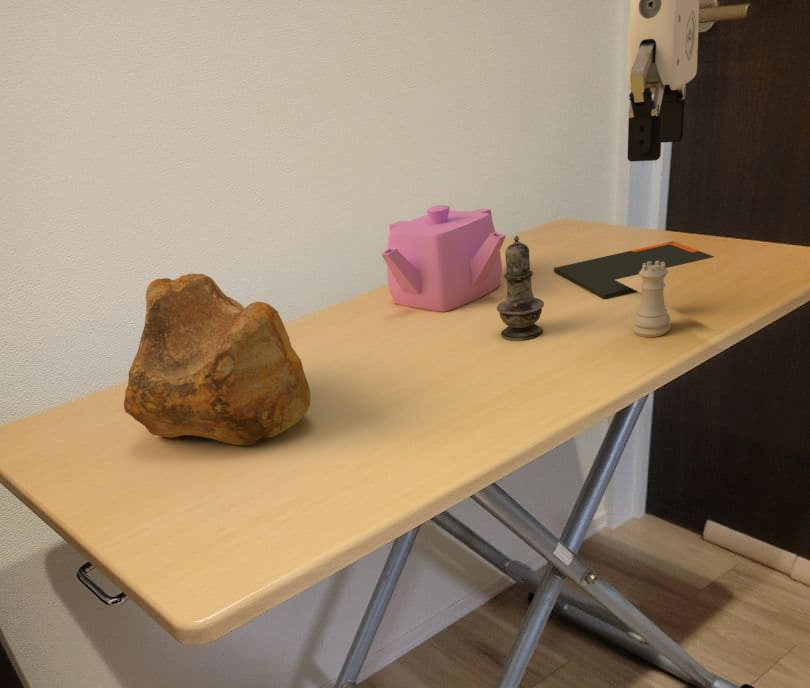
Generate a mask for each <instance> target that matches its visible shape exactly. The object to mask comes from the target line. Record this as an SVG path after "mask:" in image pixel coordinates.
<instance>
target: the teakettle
mask: <svg viewBox="0 0 810 688" xmlns="http://www.w3.org/2000/svg"><path fill="white" fill-rule="evenodd" d="M388 227H389V231H388V236H387V237H388V238H387V249H386V250H384V251H382V252H381V253H380V254H381V256H382V258H383V261H384V262H385V264H386V269H387V270H386V271H387V272H386V273H387V286H388V291H389V294H390V296H391V298H392V300H393V303H394V304H395V305H399V306H403V307H408V308H414V309H420V310H426V311H433V312H438V313H439V312H440V313H445V312H449V311H452V310H456V309H457V308H460V307H463V306H465V305H468V304H470V303H472V302H474V301H476V300H478V299H480V298H483V297H484V296H486V295H488V294H489V293H491V292H492V291H495V290H496V289H498V288H499V287H500V285H501V281H502V275H503V264H502V255H501V250H502V246H503V245H504V242H505V239H506V234H503V233H500V232H498V231H496V229H495V225H494V222H493V217H492V209H487V208H478V209H475V210H472V211H464V210H450V205H446V204H439V205H433V206H431V207H428V208H427V209H426V214H425V215H423V216H419V217H418V218H417V217H416V218H414V219H411V220H409V221H407V220H398V221H396V222H393V223H390V224H388Z"/></svg>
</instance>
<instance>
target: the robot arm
mask: <svg viewBox="0 0 810 688" xmlns="http://www.w3.org/2000/svg"><path fill="white" fill-rule="evenodd" d="M628 17H629V18H628V31H627V32H628V33H627V55H626V78H627V79H626V80H627V82H626V83H627V88H628V89H629V90H630V93H628V94H629V95H628V100H629V107H628V126H627V127H628V128H627V129H628V130H627V160H628V161H629V162H652V161H653V162H655V161H658V160H659V159H660V158H661V156H662V143H663V144H664V143H679V142H681V141H682V140H683V139H684V132H685V131H684V128H685V118H686V117H685V116H686V115H685V114H686V102H687V101H686V94H687V88H686V87H687V84H688V83H690V82H691V81H692V80H693V79H694V78H695V77H696V75H697V72H698V53H699V52H698V51H699V50H698V49H699V25H700V23H699V21H700V20H699V18H700V0H629V14H628Z"/></svg>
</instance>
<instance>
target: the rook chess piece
mask: <svg viewBox="0 0 810 688" xmlns="http://www.w3.org/2000/svg"><path fill="white" fill-rule="evenodd" d="M668 273H669V270H668V268H665V262H661V265H660V261H655V265H652V262H651V261H649V262H647V266H646V263H643V264H642V269H641V271H640V272H639V274H638V275H639V276H640V278H641V280H642V283H641V284H640V288H641V297H640V304H639V308H638V310H637V311H636V314H635V316H634V317H633V319H632V323H633V324H634V325H633V326H632V327H631V329H632V331H633V332H634V334H635V335H637V336H639V337H641V338H642V337H643V338H655V337H656V338H657V337H662V336H663V335H666V334H667V333H668V332H669V331H670V330H671V328H672V327H671V326H672V325H671V324H670V321H671V317H670V314H669V312H668V308H666V305H665V297H664V292H665V291H664V290H665V289H664V288H665V287H666V283H665V281H664V280H665V278H666V276H667V275H668Z"/></svg>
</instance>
